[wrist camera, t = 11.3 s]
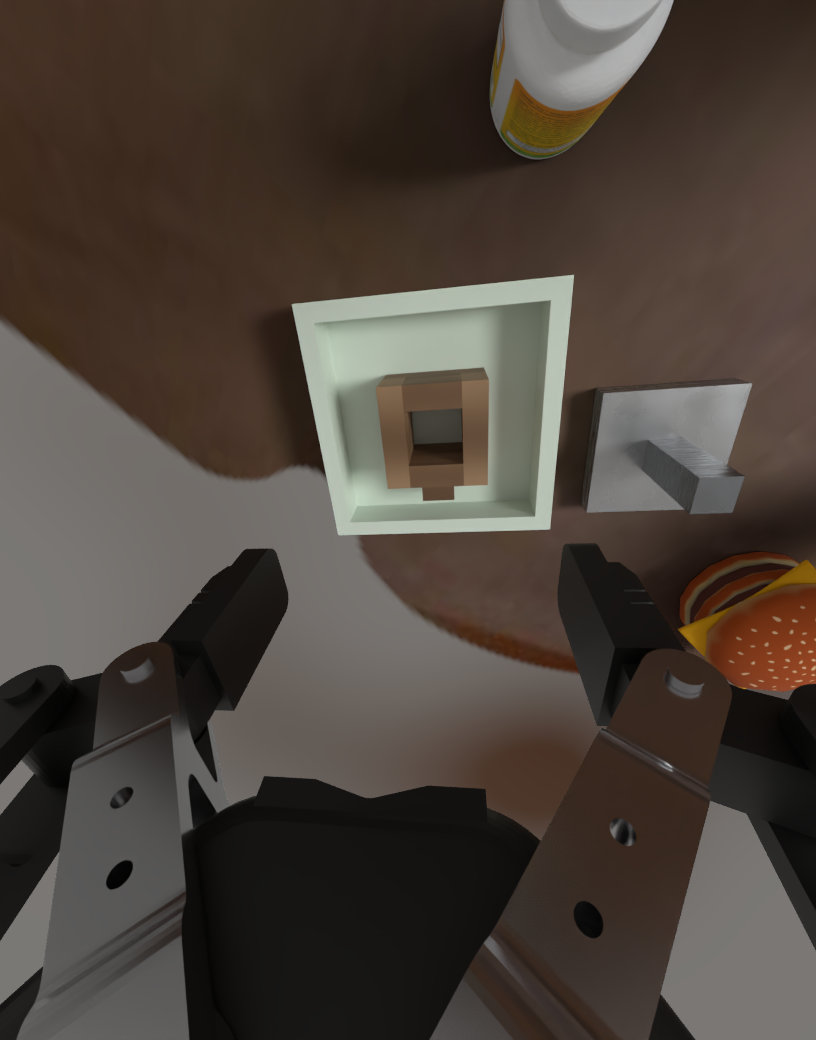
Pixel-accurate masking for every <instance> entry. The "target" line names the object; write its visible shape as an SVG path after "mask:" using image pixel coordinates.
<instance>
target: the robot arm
mask: <svg viewBox="0 0 816 1040" xmlns="http://www.w3.org/2000/svg"><path fill="white" fill-rule="evenodd" d="M287 606H288V591H287V587H286V584H285V580H284V577H283V573H282V570H281V566H280V563H279V560H278V557H277V554H276V552H275V550H273V549H246V550H244V551H243V552H242V553H241V554H240V555H239V557H238V558H237V559H236V561H235V562H234V563H233V564H232V565H231V566H228V567H226V568H225V569H223V570H222V571H221V572H219V573H218V574H216V575H215V576H213V577H212V578H211V579H210V580H209V581H208V583H207V584H206V585H205V586H204V587H203V588H202V590H201V593H198V594H197V596H196V597H195V598H194V599H193V600H192V604H189V605H188V606H187V608H186V609H185V610H184V611H183V612H182V613H181V614H180V616H179V617H178V618H177V619H176V620H175V622H174V623H173V624H172V625H171V626H170V628H169V629H168V630H167V631H166V632H165V633H164V635H163V636H162V637H161V638H160V639H159V641H158V642H151V643H146V644H142V645H139V646H137V647H135V648H132V649H130V650H128V651H126V652H125V653H123V654H122V655H120V656H119V657H117V658H116V659H115V660H114V661H113V662H112V663H110V665H109V666H108V667H107V668H106V669H105V671H104V672H103V673H100V674H96V675H92V676H87V677H83V678H80V679H75V680H70V679H69V677H68V676H67V675H66V673H65V672H64V671H63V669H62V668H61V667H59V666H56V665H46V666H41V667H37V668H33V669H31V670H28V671H26V672H23V673H21V674H19V675H17V676H15V677H14V678H12V679H11V680H9V681H7V682H6V683H4V684H3V685H1V686H0V784H1V783H2V782H3V780H4V779H5V778H6V777H7V776H8V775H9V773H10V772H11V771H12V770H13V769H14V768H15V767H16V765H17V764H18V763H19V762H20V761H21V760H22V761H23V762H24V763H25V764H26V765H27V766H28V767H29V769H31V770H32V772H33V773H34V775H33V776H32V777H31V778H30V780H29V781H28V782H27V783H26V784H25V786H24V787H23V788H22V789H21V791H20V792H19V793H18V794H17V796H16V797H15V798H14V799H13V800H12V802H11V803H10V804H9V805H8V807H7V808H6V809H5V810H4V811H3V813H2V814H1V815H0V940H1V939H2V937H3V936H4V934H5V933H6V931H7V930H8V928H9V927H10V925H11V924H12V922H13V921H14V919H15V918H16V916H17V914H18V913H19V911H20V910H21V908H22V907H23V905H24V904H25V902H26V901H27V899H28V898H29V896H30V895H31V893H32V892H33V890H34V889H35V887H36V886H37V884H38V882H39V881H40V880H41V878H42V877H43V875H44V873H45V872H46V870H47V869H48V867H49V866H50V864H51V863H52V861H53V860H54V858H55V857H56V855H57V854H58V852H59V851H60V852H59V859H58V866H57V873H56V880H55V887H54V894H53V901H52V908H51V915H50V922H49V929H48V936H47V943H46V950H45V957H44V964H43V967H42V968H41V969H39V970H38V971H37V972H36V973H35V974H34V975H33V976H32V977H31V978H29V979H28V980H27V981H26V982H25V983H24V984H23V985H22V986H21V987H20V988H18V989H17V990H16V991H15V992H14V993H13V994H12V995H11V996H9V997H8V998H7V999H6V1000H5V1001H4V1002H3V1003H2V1004H1V1005H0V1040H695V1038H694V1037H693V1036H692V1035H691V1033H690V1032H689V1031H688V1029H687V1028H686V1027H685V1025H684V1024H683V1023H682V1021H681V1020H680V1019H679V1017H678V1016H677V1015H676V1014H675V1012H674V1011H673V1010H672V1008H671V1007H670V1006H669V1004H668V1003H667V1002H666V1000H665V999H664V998H663V997H662V995H661V990H662V985H663V982H664V978H665V974H666V970H667V966H668V963H669V959H670V955H671V950H672V947H673V943H674V939H675V935H676V932H677V927H678V924H679V920H680V916H681V912H682V908H683V904H684V901H685V896H686V893H687V889H688V885H689V881H690V877H691V874H692V870H693V866H694V862H695V858H696V854H697V850H698V846H699V842H700V839H701V835H702V831H703V827H704V823H705V819H706V816H707V812H708V808H709V803H710V801H713V802H716V803H718V804H721V805H724V806H727V807H730V808H732V809H735V810H738V811H741V812H744V813H746V814H747V815H748V817H749V819H750V821H751V823H752V825H753V827H754V829H755V831H756V833H757V835H758V837H759V839H760V841H761V843H762V845H763V847H764V849H765V851H766V853H767V855H768V857H769V859H770V861H771V863H772V865H773V867H774V869H775V871H776V873H777V875H778V877H779V879H780V880H781V882H782V885H783V887H784V888H785V891H786V893H787V894H788V896H789V898H790V900H791V902H792V904H793V906H794V908H795V910H796V912H797V914H798V916H799V918H800V920H801V922H802V924H803V926H804V928H805V930H806V932H807V934H808V936H809V938H810V940H811V942H812V944H813V946H814V947H815V950H816V684H806V685H802V686H799V687H797V688H796V689H795V690H794V691H793V693H792V695H791V696H790V698H789V699H788V700H785V699H782V698H778V697H774V696H770V695H766V694H762V693H758V692H754V691H750V690H747V689H743V688H739V687H736V686H733V685H730V684H729V683H728V681H727V680H726V678H725V677H724V676H723V675H722V674H721V672H720V671H719V670H717V669H716V668H715V667H714V666H713V665H711V664H710V663H708V662H707V661H705V660H703V659H702V658H700V657H698V656H695V655H693V654H690V653H688V652H685V650H684V649H683V647H682V645H681V644H680V642H679V641H678V639H677V638H676V636H675V635H674V633H673V631H672V630H671V628H670V627H669V625H668V624H667V622H666V621H665V619H664V618H663V616H662V614H661V613H660V611H659V610H658V608H657V607H656V605H654V604H653V601H652V599H651V597H650V596H649V594H648V593H647V592H645V588H644V587H643V585H642V584H641V582H640V580H639V579H638V577H637V576H636V575H635V574H634V573H633V572H631V571H630V570H629V569H627V568H626V567H625V566H623V565H622V564H621V563H619V562H607V561H606V559H605V557H604V555H603V554H602V552H601V550H600V548H599V547H598V545H597V544H595V543H589V544H565V545H564V547H563V552H562V560H561V568H560V576H559V584H558V607H559V612H560V616H561V619H562V622H563V625H564V628H565V631H566V634H567V637H568V640H569V643H570V646H571V649H572V652H573V655H574V658H575V661H576V664H577V667H578V670H579V673H580V676H581V679H582V682H583V684H584V688H585V691H586V694H587V697H588V700H589V703H590V706H591V709H592V712H593V715H594V718H595V721H596V724H597V726H608V727H607V728H606V730H605V729H601V730H600V731H599V733H598V734H597V736H596V738H595V740H594V741H593V743H592V745H591V747H590V749H589V751H588V753H587V755H586V756H585V758H584V760H583V762H582V764H581V766H580V768H579V770H578V772H577V774H576V776H575V777H574V779H573V781H572V783H571V785H570V787H569V789H568V790H567V792H566V794H565V796H564V798H563V800H562V802H561V804H560V806H559V808H558V809H557V811H556V813H555V815H554V817H553V819H552V821H551V823H550V824H549V827H548V828H547V830H546V832H545V834H544V836H543V838H542V840H541V841H540V840H539V839H538V838H537V837H536V836H534V835H533V834H532V833H531V832H530V831H529V830H527V829H526V828H525V827H523V826H522V825H520V824H519V823H517V822H515V821H514V820H513V819H511V818H509V817H507V816H505V815H503V814H501V813H499V812H496V811H494V810H491V809H489V808H487V805H486V790H485V789H475V788H459V787H441V786H425V787H420V788H416V789H412V790H407V791H402V792H398V793H394V794H389V795H385V796H380V797H376V798H364V797H361V796H358V795H356V794H353V793H350V792H348V791H345V790H343V789H340V788H337V787H335V786H332V785H330V784H327V783H324V782H322V781H319V780H316V779H303V778H286V777H269V776H264V778H263V781H262V784H261V786H260V789H259V791H258V794H257V796H253V797H250V798H248V799H245V800H242V801H239V802H237V803H235V804H233V805H231V806H229V803H228V800H227V797H226V794H225V790H224V785H223V780H222V774H221V769H220V765H219V759H218V753H217V749H216V743H215V738H214V733H213V728H212V725H211V723H210V721H209V719H210V718H211V716H212V714H213V712H214V711H215V710H229V711H230V710H231V711H234V710H235V708H236V706H237V704H238V702H239V700H240V698H241V696H242V695H243V692H244V691H245V689H246V687H247V685H248V683H249V681H250V679H251V677H252V675H253V674H254V671H255V669H256V668H257V666H258V664H259V662H260V660H261V658H262V656H263V654H264V653H265V650H266V649H267V647H268V645H269V643H270V641H271V639H272V637H273V635H274V633H275V631H276V630H277V628H278V625H279V624H280V622H281V620H282V618H283V616H284V614H285V612H286V609H287Z"/></svg>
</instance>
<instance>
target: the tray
mask: <svg viewBox="0 0 816 1040" xmlns="http://www.w3.org/2000/svg"><path fill="white" fill-rule="evenodd" d="M573 280H574V275H569V276H559V277H549V278H540V279H530V280H520V281H511V282H501V283H491V284H482V285H472V286H462V287H453V288H443V289H433V290H424V291H414V292H404V293H395V294H385V295H375V296H366V297H356V298H347V299H337V300H327V301H318V302H308V303H298V304H292V308H293V313H294V318H295V323H296V328H297V333H298V338H299V343H300V348H301V353H302V358H303V363H304V368H305V373H306V378H307V383H308V388H309V393H310V397H311V402H312V407H313V412H314V417H315V422H316V427H317V432H318V437H319V442H320V447H321V452H322V457H323V462H324V467H325V472H326V477H327V482H328V487H329V491H330V497H331V502H332V507H333V512H334V517H335V522H336V526H337V532H338V535H366V534H402V533H439V532H475V531H512V530H548V529H550V523H551V512H552V502H553V491H554V480H555V470H556V459H557V449H558V438H559V428H560V417H561V407H562V396H563V386H564V375H565V365H566V354H567V343H568V333H569V322H570V312H571V301H572V291H573ZM482 367H484V369H485V372H486V374H487V376H488V378H489V424H488V485H476V486H454V500H438V501H423V494H422V488H399V489H388V486H387V478H386V469H385V461H384V453H383V445H382V436H381V428H380V420H379V411H378V403H377V395H376V386H377V385H378V384H379V383H380V382H381V380H382V379H383V378H384V377H385V375H388V374H402V373H415V372H429V371H442V370H455V369H469V368H482ZM412 424H413V436H414V444H432V443H451V442H462V422H461V408H459V409H443V410H427V411H412Z"/></svg>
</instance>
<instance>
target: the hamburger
mask: <svg viewBox="0 0 816 1040" xmlns="http://www.w3.org/2000/svg"><path fill="white" fill-rule="evenodd" d="M679 615H680V619H681V620H682V622H683V624H684V625H685V626H684V627H681V628H679V629H678V630H679V631H680V632H681V634H682V635H683V636H684V637H685V638H686V639H687V640H688V641H689V642H690V643H691V644H692V645H693V646H694V647H695V648H696V649H697V650H698V651H699V652H700V653H701V654H702V655H703V656H704V657H705V661H707V662H708V663H710V664H711V665H713V666H714V667H715V668H716V669H717V670H719V671H720V672H721V674H722V675H723V676H724V677H725V678H726V679H727V680H729V681H730V682H731V683H732V684H734V685H735V686H737V687H739V688H743V689H746V688H752V689H762V690H771V691H783V692H784V691H788V690H792V689H796V688H797V687H799V686H802V685H806V684H815V683H816V569H815V568H814V567H813V565H812V564H811V563H810V562H809V561H808V560H805V561H804V562H802V563H801V564H800V563H798V562H797V561H795V560H794V559H792V558H790V557H789V556H787V555H783V554H776V553H769V552H762V551H759V552H753V553H747V554H740V555H734V556H731V557H729V558H726V559H724V560H722V561H720V562H717V563H715V564H713V565H710V566H709V567H707V568H706V569H705V570H704V571H703V572H701V573H700V574H699V575H698V576H696V577H695V578H694V579H693V580H692V581H690V582H689V584H688V586H687V588H686V589H685V591H684V593H683V594H682V596H681V598H680V614H679Z"/></svg>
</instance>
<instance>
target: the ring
mask: <svg viewBox="0 0 816 1040" xmlns="http://www.w3.org/2000/svg"><path fill="white" fill-rule="evenodd" d="M376 395H377V403H378V411H379V420H380V428H381V436H382V445H383V453H384V461H385V469H386V478H387V486H388V489H399V488H422V494H423V501H438V500H454V486H476V485H488V424H489V378H488V376H487V374H486V372H485V369H484V367H482V368H469V369H455V370H442V371H429V372H415V373H402V374H388V375H385V377H384V378H383V379H382V380H381V382H380V383H379V384H378V385H377V386H376ZM459 408H461V422H462V442H451V443H432V444H414V436H413V424H412V411H427V410H443V409H459Z"/></svg>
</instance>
